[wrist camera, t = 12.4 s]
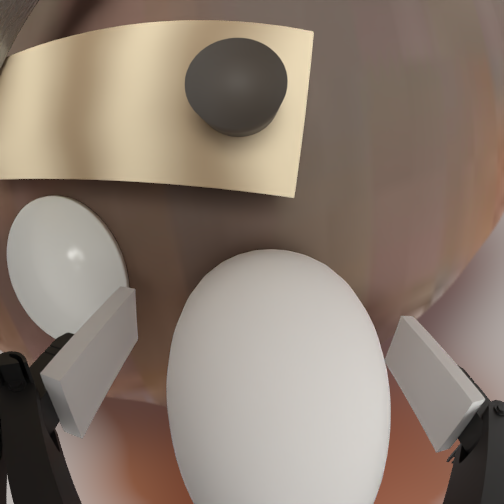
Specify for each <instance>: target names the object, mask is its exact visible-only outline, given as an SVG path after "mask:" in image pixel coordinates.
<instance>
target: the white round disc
mask: <svg viewBox="0 0 504 504" xmlns="http://www.w3.org/2000/svg"><path fill="white" fill-rule="evenodd" d="M7 264H8V271H9V276H10V279H11V283H12V286H13V288H14V291H15V293H16V295H17V297H18V300H19V301H20V303H21V305H22V306H23V308H24V310H25V311H26V312H27V314H28V315H29V316H30V318H31V319H32V320H33V321H34V322H35V323H36V324H37V325H38V326H39V327H40V328H41V329H42V330H43V331H45V332H46V333H47V334H49V335H50V336H52V337H53V338H55V339H57V338H58V337H60V336H62V335H63V334H65V333H67V332H69V333H72V334H75V333H76V332H77V331H78V330H79V329H80V328H81V327H82V326H83V325H84V323H85V322H86V321H87V320H88V319H89V318H90V317H91V316H92V315H93V314H94V313H95V312H96V311H97V310H98V309H99V308H100V307H101V306H102V305H103V304H104V302H105V301H106V300H107V299H108V298H109V297H110V296H111V295H112V294H113V293H114V292H115V291H116V290H117V289H118V288H119V287H120V286H121V287H127V288H129V279H128V273H127V268H126V264H125V261H124V258H123V255H122V252H121V250H120V248H119V245H118V243H117V242H116V240H115V238H114V236H113V234H112V233H111V231H110V230H109V228H108V227H107V226H106V224H105V223H104V222H103V221H102V220H101V218H100V217H99V216H98V215H97V214H96V213H95V212H93V211H92V210H91V209H90V208H89V207H87V206H86V205H84V204H83V203H81V202H79V201H77V200H75V199H73V198H69V197H66V196H60V195H52V196H46V197H42V198H38V199H36V200H34V201H32V202H30V203H29V204H27V205H26V206H25V207H24V208H23V209H22V210H21V211H20V212H19V213H18V215H17V216H16V218H15V220H14V222H13V224H12V226H11V229H10V232H9V237H8V243H7Z"/></svg>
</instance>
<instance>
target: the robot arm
mask: <svg viewBox="0 0 504 504" xmlns="http://www.w3.org/2000/svg"><path fill="white" fill-rule="evenodd" d="M137 340H138V331H137V316H136V295H135V289H133V288H127V287H121V286H120V287H119V288H118V289H117V290H116V291H115V292H114V293H113V294H112V295H111V296H110V297H109V298H108V299H107V300H106V301H105V302H104V304H103V305H102V306H101V307H100V308H99V309H98V310H97V311H96V312H95V313H94V314H93V315H92V316H91V317H90V318H89V319H88V320H87V321H86V322H85V323H84V325H83V326H82V327H81V328H80V329H79V330H78V331H77V332H76V333H75V334H72V333H69V332H67V333H65V334H63V335H62V336H60V337H58V338H57V339H56V340H55V341H54V342H53V343H52V344H51V345H50V347H48V348H47V349H46V350H45V353H44V352H43V353H42V354H41V356H40V357H39V358H38V359H37V360H36V361H35V362H34V363H33V364H32V365H31V366H30V368H29V367H28V364H27V361H26V358H25V356H23V355H22V354H21V353H18V352H13V351H9V352H5V353H2V354H0V504H6V486H7V484H6V483H7V475H8V480H9V485H10V489H11V494H12V498H13V502H14V504H81V501H80V499H79V496H78V494H77V491H76V489H75V486H74V484H73V481H72V479H71V476H70V473H69V470H68V467H67V464H66V461H65V458H64V455H63V451H62V448H61V445H60V441H59V438H58V434H57V432H56V430H55V428H56V426H57V424H58V423H59V421H60V424H61V426H62V428H63V430H64V431H65V432H67V433H70V434H72V435H74V436H77V437H80V438H83V437H84V434H85V433H86V431H87V429H88V427H89V425H90V423H91V421H92V420H93V418H94V416H95V414H96V412H97V410H98V408H99V407H100V405H101V403H102V401H103V399H104V397H105V396H106V394H107V392H108V390H109V389H110V387H111V385H112V383H113V381H114V380H115V378H116V376H117V374H118V373H119V371H120V369H121V367H122V366H123V364H124V362H125V361H126V359H127V357H128V355H129V354H130V352H131V350H132V349H133V347H134V345H135V344H136V342H137ZM384 361H385V363H386V364H387V366H388V368H389V369H390V371H391V373H392V374H393V376H394V378H395V379H396V381H397V383H398V385H399V386H400V388H401V390H402V391H403V393H404V395H405V396H406V398H407V400H408V402H409V403H410V405H411V407H412V409H413V411H414V412H415V414H416V416H417V418H418V419H419V421H420V423H421V425H422V427H423V429H424V430H425V432H426V434H427V436H428V438H429V440H430V441H431V443H432V445H433V447H434V449H435V451H436V452H439V451H443V450H446V449H449V448H450V447H451V446H452V445H453V444H454V442H455V441H456V440H457V439H459V441H460V445H459V446H458V447H457V448H456V450H455V451H454V452H453V453H452V454H451V455H450V457H449V458H448V459H447V462H449V461H450V460H451V459H452V458H453V457H455V458H454V461H453V462H452V463H453V468H452V472H451V476H450V480H449V484H448V488H447V492H446V495H445V498H444V502H443V504H504V402H502V401H498V400H494V401H492V402H491V401H490V400H489V399H488V398H487V396H486V395H485V394H484V393H483V391H482V390H481V389H480V388H479V387H478V385H477V384H475V383H474V381H473V380H472V378H470V376H469V375H468V374H467V372H466V371H465V370H464V369H463V368H461V367H460V366H458V365H457V364H456V363H455V362H454V361H453V360H452V358H451V357H450V356H449V355H448V354H447V353H446V352H445V351H444V349H442V347H441V346H440V345H439V344H438V343H437V342H436V340H435V339H434V338H433V337H432V336H431V335H430V334H429V333H428V332H427V331H426V330H425V329H424V328H423V326H422V325H421V324H420V323H419V322H418V321H417V320H416V319H415V318H414V317H413V316H401V317H400V320H399V323H398V326H397V329H396V332H395V334H394V337H393V340H392V342H391V345H390V347H389V350H388V352H387V355H386V357H385V360H384Z"/></svg>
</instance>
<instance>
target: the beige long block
mask: <svg viewBox="0 0 504 504" xmlns="http://www.w3.org/2000/svg"><path fill="white" fill-rule="evenodd" d="M313 34H314V32H312V31H307V30H302V29H296V28H290V27H284V26H277V25H269V24H261V23H251V22H238V21H217V20H183V21H163V22H150V23H140V24H132V25H124V26H118V27H112V28H106V29H100V30H95V31H90V32H86V33H81V34H77V35H73V36H69V37H65V38H61V39H58V40H54V41H51V42H48V43H44V44H41V45H38V46H35V47H32V48H29V49H27V50H24V51H21V52H18V53H16V54H13V55H11V56H8V57H6V58H5V60H4V62H3V64H2V66H1V69H0V179H87V180H113V181H132V182H148V183H162V184H175V185H187V186H198V187H208V188H218V189H228V190H237V191H245V192H253V193H262V194H269V195H277V196H284V197H291V198H294V195H295V188H296V181H297V174H298V167H299V159H300V152H301V144H302V136H303V128H304V120H305V111H306V103H307V94H308V85H309V75H310V66H311V56H312V45H313Z"/></svg>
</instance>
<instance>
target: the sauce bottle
mask: <svg viewBox="0 0 504 504" xmlns="http://www.w3.org/2000/svg"><path fill="white" fill-rule="evenodd" d="M166 393H167V409H168V417H169V425H170V430H171V437H172V442H173V446H174V451H175V455H176V459H177V462H178V466H179V469H180V472H181V475H182V477H183V481H184V483H185V485H186V488H187V490H188V492H189V494H190V497H191V499H192V501H193V503H194V504H373V503H374V501H375V499H376V496H377V493H378V490H379V487H380V484H381V481H382V477H383V472H384V468H385V463H386V458H387V452H388V444H389V434H390V410H391V408H390V407H391V406H390V390H389V382H388V376H387V369H386V365H385V361H384V357H383V353H382V349H381V346H380V342H379V339H378V336H377V333H376V330H375V327H374V325H373V323H372V321H371V319H370V316H369V315H368V313H367V311H366V309H365V308H364V306H363V305H362V303H361V302H360V300H359V299H358V297H357V296H356V294H355V293H354V291H353V290H352V288H351V287H350V286H349V285H348V284H347V282H346V281H345V280H343V279H342V278H341V277H340V276H339V275H338V274H336V273H335V272H334V271H333V270H332V269H330V268H329V267H328V266H327V265H325V264H324V263H321V262H319V261H317V260H315V259H313V258H311V257H309V256H307V255H304V254H300V253H296V252H292V251H288V250H277V249H265V250H254V251H250V252H246V253H242V254H239V255H236V256H234V257H232V258H230V259H228V260H225V261H223V262H222V263H220V264H219V265H218V266H216V267H215V268H214V269H212V270H211V271H210V272H209V273H207V274H206V275H205V276H204V277H203V279H202V280H201V281H200V282H199V284H198V285H197V286H196V288H195V289H194V290H193V292H192V293H191V294H190V296H189V298H188V300H187V301H186V304H185V306H184V308H183V311H182V313H181V315H180V318H179V320H178V323H177V325H176V328H175V331H174V334H173V339H172V343H171V349H170V356H169V363H168V371H167V388H166Z"/></svg>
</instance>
